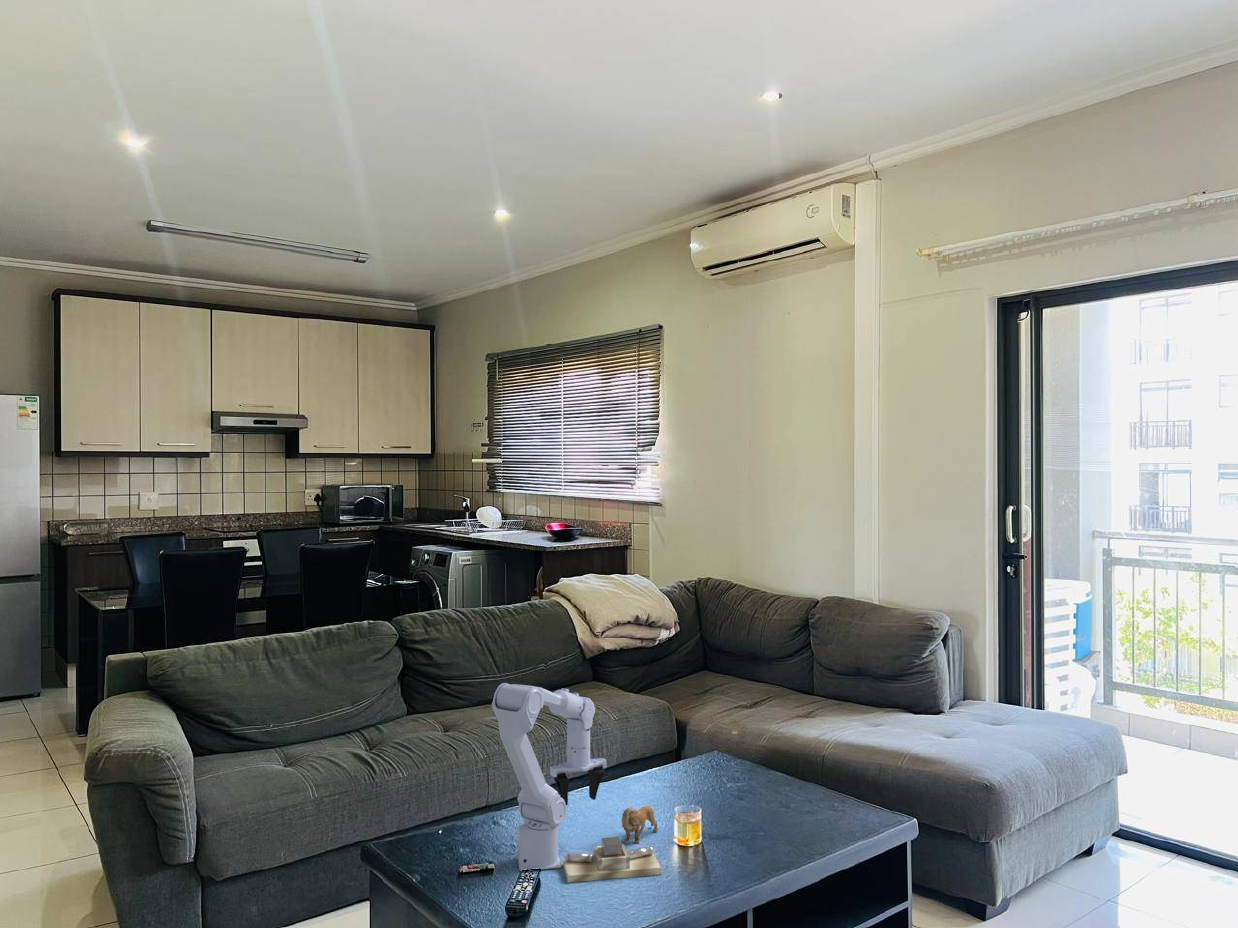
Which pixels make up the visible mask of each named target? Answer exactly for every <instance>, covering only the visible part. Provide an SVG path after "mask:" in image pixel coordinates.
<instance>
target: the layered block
mask: <svg viewBox="0 0 1238 928" xmlns="http://www.w3.org/2000/svg"><path fill="white" fill-rule="evenodd" d="M600 839H601V845H600V846H601V858H607V857H619V856H622V844H623V843H622V841H621V838H620V837H619V836H610V837H609V836H608V837H601V838H600Z"/></svg>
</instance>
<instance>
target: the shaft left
mask: <svg viewBox="0 0 1238 928" xmlns="http://www.w3.org/2000/svg"><path fill="white" fill-rule="evenodd" d="M563 858H564V859H565V861H567V862H592V861H593V860H594V856H593V854H592V853H581V852H580V853H573V852H567V853H565V854H564V856H563Z"/></svg>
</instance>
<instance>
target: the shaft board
mask: <svg viewBox="0 0 1238 928" xmlns="http://www.w3.org/2000/svg"><path fill="white" fill-rule="evenodd" d="M592 848H593V854H592V855H593V856H594V860H593V861H592V862H567V861H565V859H564V857H563V858H562V867H563V870H564V873H565V876H566V880H567V883H568V884H569V883H579V882H580V883H581V882H591V881H601V880H612V879H624V878H633V877H634V878H636V877H637V878H638V877H645V876H646V877H647V876H648V877H649V876H656V875H657V876H658V875H659V874H660V875H662V867H661V865H660V862H659V861H658V859H657V858H656V855H655V854H654V853H653V854H652V855H648V856H643V857H638V858H634V859H630V856H629V854H628V850H627V848H626V846H625V844H624V843H622V856H619V857H607V858H601V845H595V846H593V847H592Z"/></svg>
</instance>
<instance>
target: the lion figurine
mask: <svg viewBox="0 0 1238 928" xmlns="http://www.w3.org/2000/svg"><path fill="white" fill-rule="evenodd" d="M646 821H648V822H649V823H650V826H651V827H653V826H654V828H653V829H652V832H653V833H658V823H657V821H656V818H655V813H654V809H653V808H652V807H651V806H648V805H647V806H642V807H640V809H639V810H637V809H635V808H633V807H627V808H626V809H625V810H624V811H623V813H622V815H621V826H622V827H623V830H624V831H625V836H626V838H624V842H625V843H628V842H630V840H631V834H630V833H635V834H634V836H635V837H634V844H637V845H638V844H640V834H642V833H643V832H644V829H645V828H646Z"/></svg>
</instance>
